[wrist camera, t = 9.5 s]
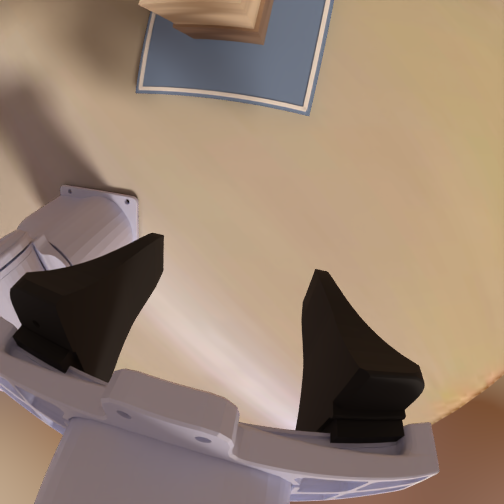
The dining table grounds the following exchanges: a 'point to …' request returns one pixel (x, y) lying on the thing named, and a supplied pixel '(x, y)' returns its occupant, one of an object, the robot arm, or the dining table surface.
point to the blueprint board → (240, 57)
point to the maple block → (206, 11)
